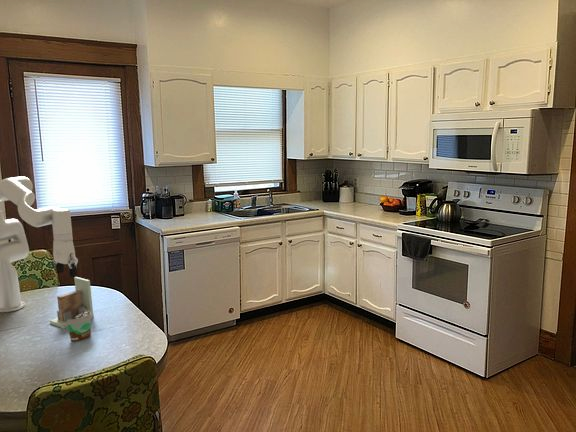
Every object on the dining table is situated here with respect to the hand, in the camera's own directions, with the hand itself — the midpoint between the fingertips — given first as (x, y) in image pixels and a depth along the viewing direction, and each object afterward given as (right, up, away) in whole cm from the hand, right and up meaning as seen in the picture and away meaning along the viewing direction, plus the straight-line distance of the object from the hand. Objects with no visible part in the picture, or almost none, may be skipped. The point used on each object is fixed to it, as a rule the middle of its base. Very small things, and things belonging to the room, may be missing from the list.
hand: (66, 274), depth 219 cm
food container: (+14, -25, -14) cm, 31 cm away
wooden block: (+1, -20, +4) cm, 20 cm away
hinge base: (+1, -21, +4) cm, 21 cm away
